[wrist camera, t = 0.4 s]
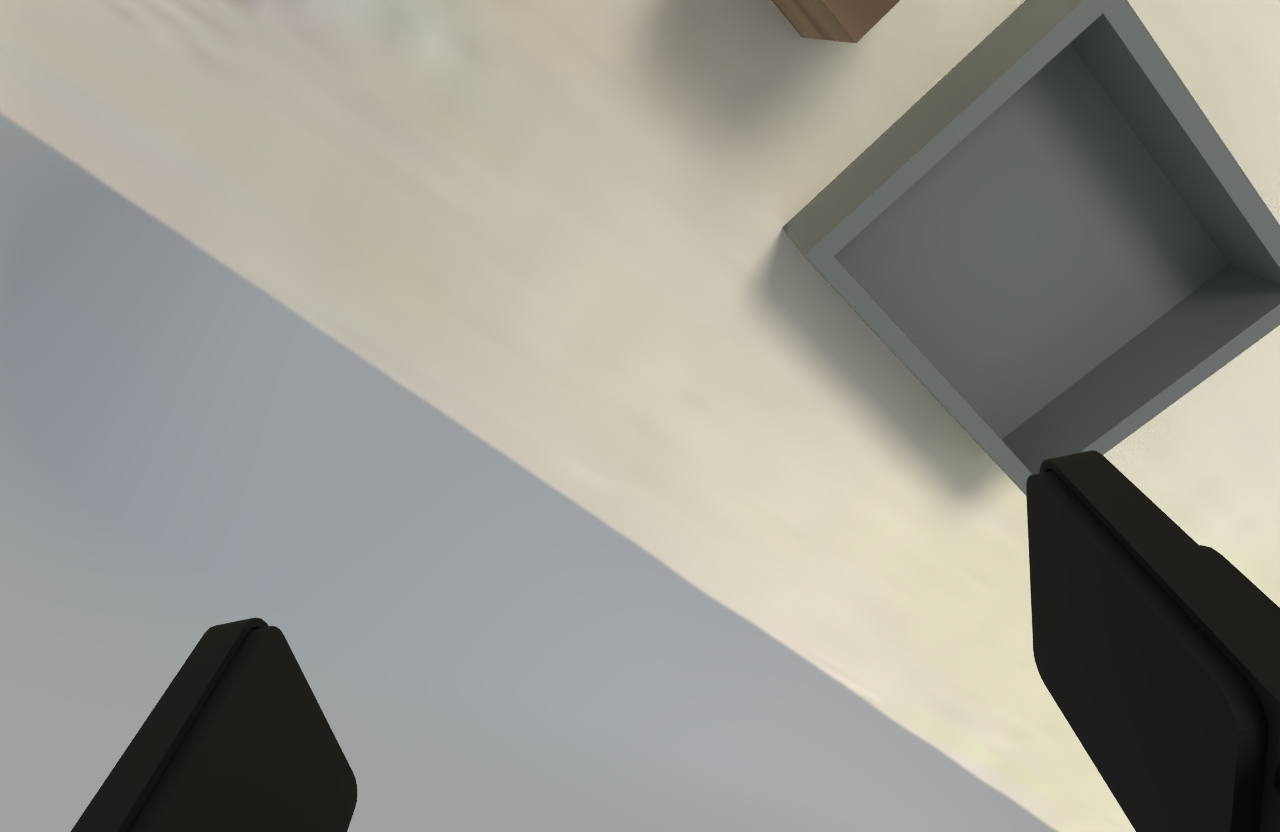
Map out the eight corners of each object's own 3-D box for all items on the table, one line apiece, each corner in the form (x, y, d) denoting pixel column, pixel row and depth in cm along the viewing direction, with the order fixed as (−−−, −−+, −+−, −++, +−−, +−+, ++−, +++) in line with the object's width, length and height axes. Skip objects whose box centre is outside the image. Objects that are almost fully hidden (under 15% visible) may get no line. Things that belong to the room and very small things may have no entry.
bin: (1045, -19, 34) (1110, -24, 29) (1242, 259, 39) (1324, 291, 34) (782, 227, 38) (804, 256, 33) (991, 453, 43) (1034, 504, 38)
